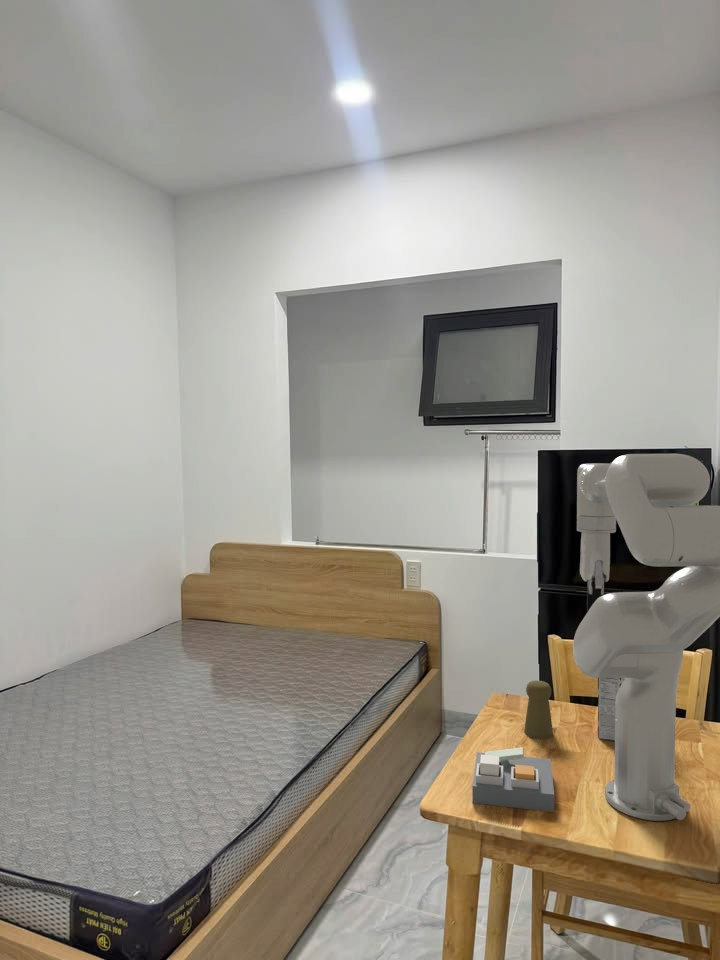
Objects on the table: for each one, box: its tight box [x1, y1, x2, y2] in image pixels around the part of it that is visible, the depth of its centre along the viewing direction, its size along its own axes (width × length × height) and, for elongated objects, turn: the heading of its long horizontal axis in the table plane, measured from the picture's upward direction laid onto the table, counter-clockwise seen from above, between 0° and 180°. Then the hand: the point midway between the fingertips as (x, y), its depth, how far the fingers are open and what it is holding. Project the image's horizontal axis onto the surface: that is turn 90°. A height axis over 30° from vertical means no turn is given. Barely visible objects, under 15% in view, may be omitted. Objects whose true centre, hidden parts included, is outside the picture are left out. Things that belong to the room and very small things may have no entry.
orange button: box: [515, 765, 534, 780], centre depth 117 cm, size 3×3×2 cm
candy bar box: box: [597, 678, 625, 742], centre depth 144 cm, size 11×5×16 cm, turn 155°
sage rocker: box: [484, 746, 525, 761], centre depth 124 cm, size 7×3×1 cm, turn 77°
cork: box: [523, 680, 554, 740], centre depth 144 cm, size 6×6×11 cm
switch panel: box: [471, 752, 555, 813], centre depth 121 cm, size 14×13×4 cm
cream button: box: [480, 755, 499, 776], centre depth 119 cm, size 3×3×2 cm
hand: (595, 612), depth 138 cm, fingers closed
